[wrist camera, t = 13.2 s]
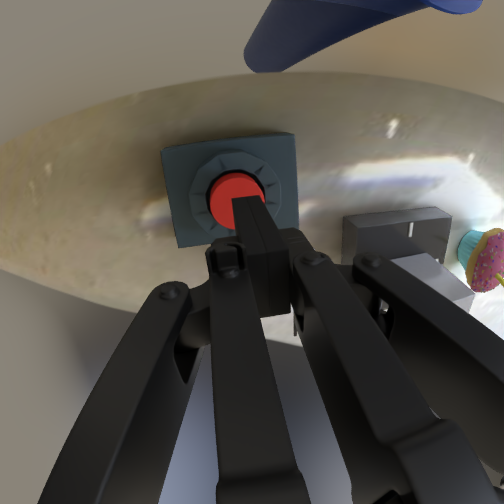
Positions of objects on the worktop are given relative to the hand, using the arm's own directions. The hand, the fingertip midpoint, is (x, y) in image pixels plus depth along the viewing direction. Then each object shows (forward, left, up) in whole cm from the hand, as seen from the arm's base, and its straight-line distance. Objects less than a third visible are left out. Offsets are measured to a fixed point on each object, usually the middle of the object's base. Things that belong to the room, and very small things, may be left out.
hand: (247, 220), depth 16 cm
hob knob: (-16, +9, -6) cm, 19 cm away
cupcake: (-30, +10, -9) cm, 33 cm away
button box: (0, 0, -9) cm, 9 cm away
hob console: (-16, +9, -9) cm, 20 cm away
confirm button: (0, 0, -5) cm, 5 cm away
